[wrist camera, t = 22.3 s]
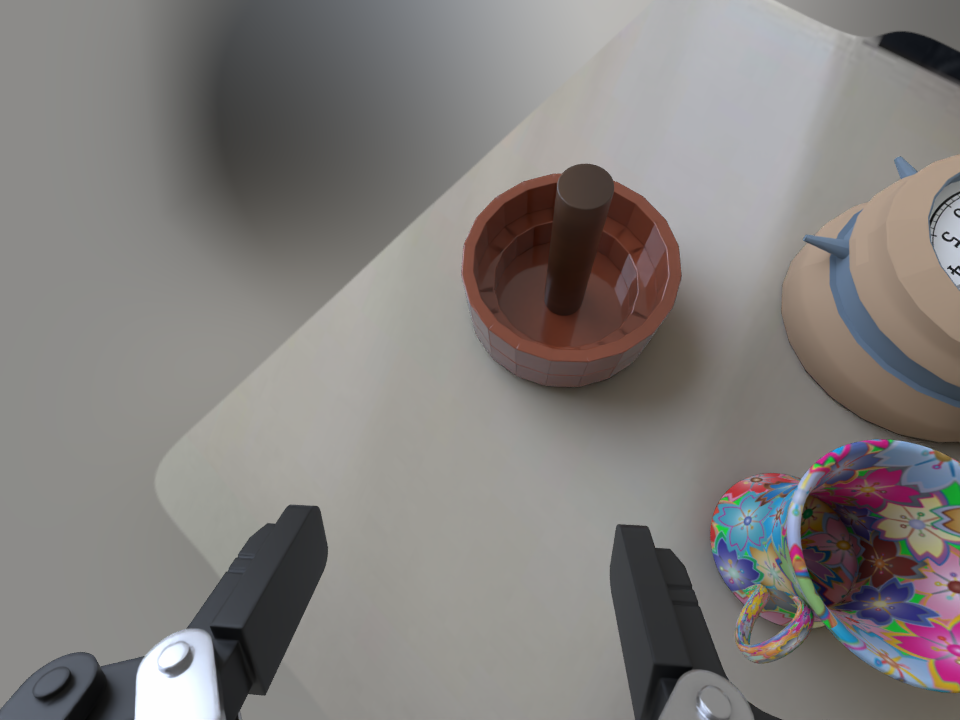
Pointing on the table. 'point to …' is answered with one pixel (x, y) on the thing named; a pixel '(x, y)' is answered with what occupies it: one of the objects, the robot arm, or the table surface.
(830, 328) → the alarm clock
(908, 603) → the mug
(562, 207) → the stick
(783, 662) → the table surface
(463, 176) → the table surface
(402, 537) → the table surface
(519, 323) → the bowl
